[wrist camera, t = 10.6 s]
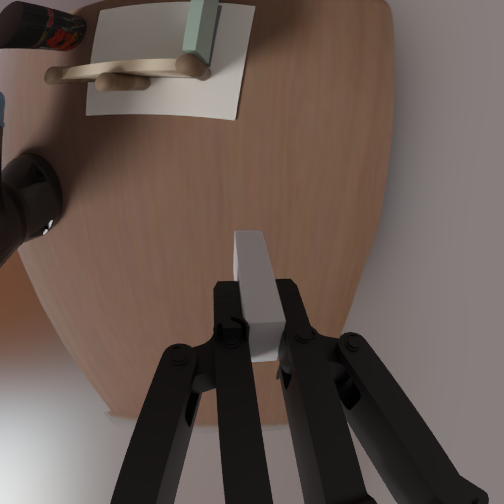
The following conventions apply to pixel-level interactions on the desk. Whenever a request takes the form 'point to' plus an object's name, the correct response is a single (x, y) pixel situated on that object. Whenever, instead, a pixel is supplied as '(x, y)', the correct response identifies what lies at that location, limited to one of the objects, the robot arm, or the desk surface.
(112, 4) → the desk surface
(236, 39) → the card
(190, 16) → the fence gate
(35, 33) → the deodorant
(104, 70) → the fence fixed
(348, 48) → the desk surface
